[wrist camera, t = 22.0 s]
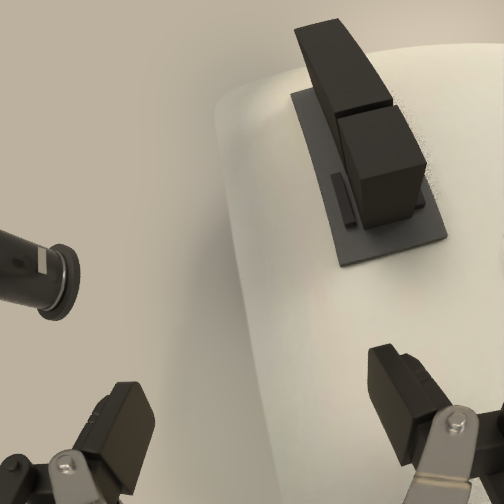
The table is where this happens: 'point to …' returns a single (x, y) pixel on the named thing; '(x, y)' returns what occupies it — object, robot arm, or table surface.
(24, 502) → the robot arm
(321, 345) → the table surface
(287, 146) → the table surface
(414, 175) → the black rectangular box
